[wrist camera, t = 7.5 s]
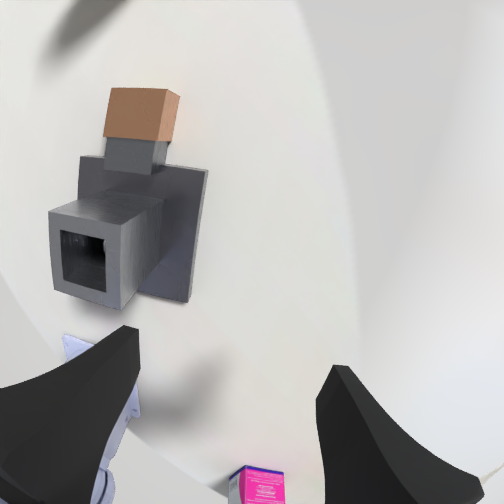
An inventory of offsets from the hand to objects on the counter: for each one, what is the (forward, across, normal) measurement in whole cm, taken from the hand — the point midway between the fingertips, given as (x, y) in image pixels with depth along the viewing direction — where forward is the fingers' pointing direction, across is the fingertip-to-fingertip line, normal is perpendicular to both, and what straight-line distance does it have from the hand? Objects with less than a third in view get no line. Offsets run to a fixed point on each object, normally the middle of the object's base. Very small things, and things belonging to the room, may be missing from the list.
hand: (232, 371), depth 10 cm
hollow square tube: (+9, +8, -1) cm, 12 cm away
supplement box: (+11, -7, +31) cm, 34 cm away
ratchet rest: (+10, +8, -3) cm, 14 cm away
